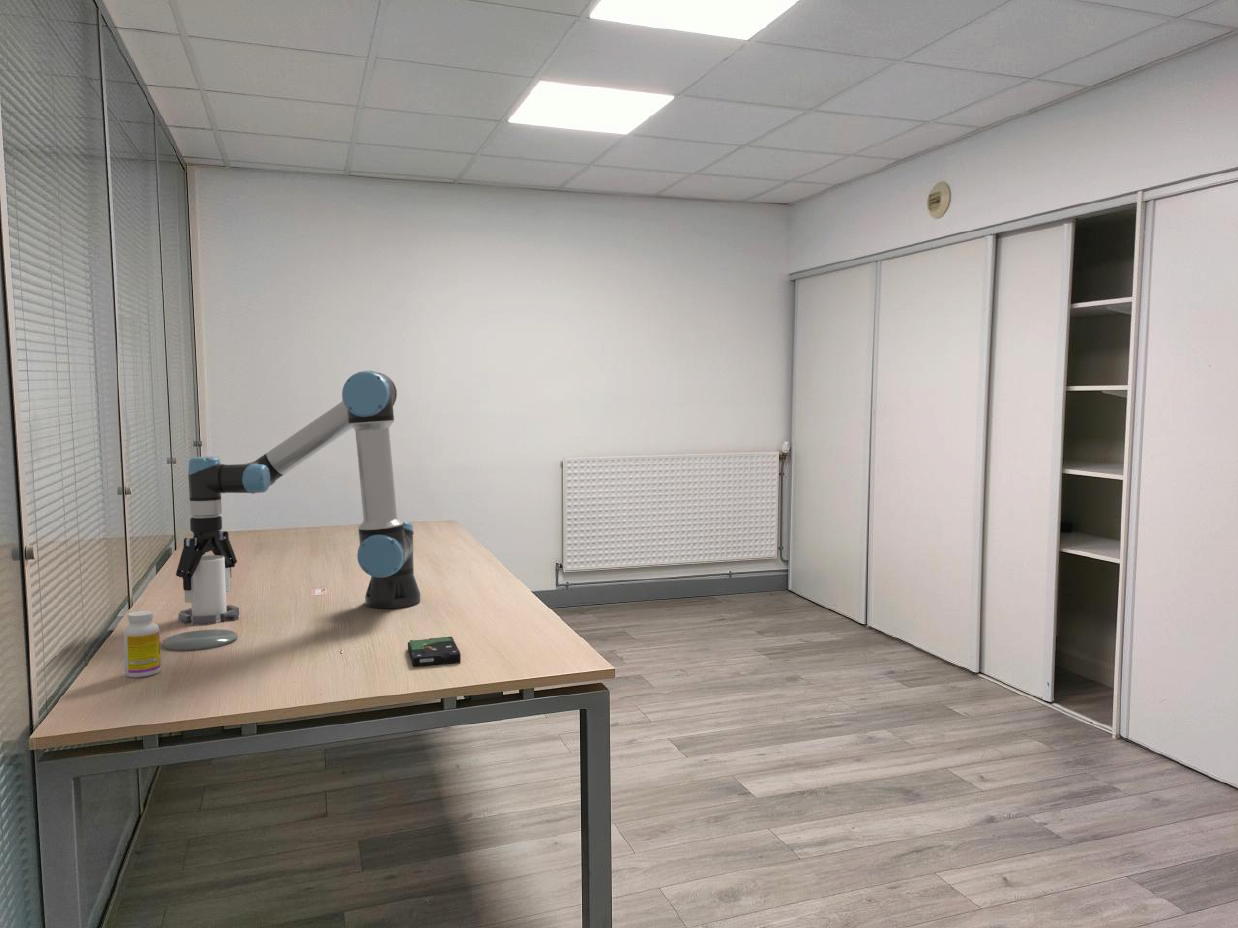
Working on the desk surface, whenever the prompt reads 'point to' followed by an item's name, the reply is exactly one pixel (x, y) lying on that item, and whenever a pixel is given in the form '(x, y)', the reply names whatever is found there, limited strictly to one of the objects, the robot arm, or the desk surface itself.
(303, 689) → the desk surface
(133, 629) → the supplement bottle
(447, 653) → the disk drive
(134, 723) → the desk surface
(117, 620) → the desk surface
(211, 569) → the cup
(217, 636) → the coaster
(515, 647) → the desk surface
